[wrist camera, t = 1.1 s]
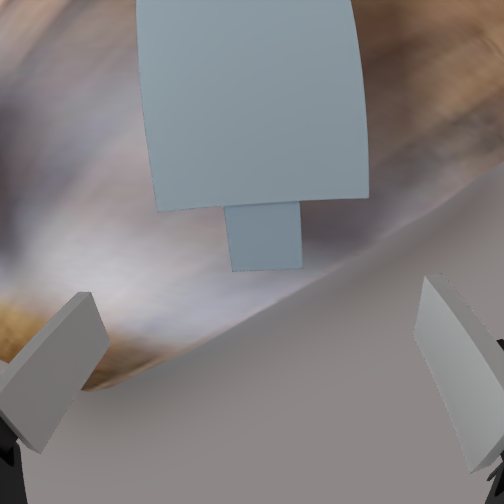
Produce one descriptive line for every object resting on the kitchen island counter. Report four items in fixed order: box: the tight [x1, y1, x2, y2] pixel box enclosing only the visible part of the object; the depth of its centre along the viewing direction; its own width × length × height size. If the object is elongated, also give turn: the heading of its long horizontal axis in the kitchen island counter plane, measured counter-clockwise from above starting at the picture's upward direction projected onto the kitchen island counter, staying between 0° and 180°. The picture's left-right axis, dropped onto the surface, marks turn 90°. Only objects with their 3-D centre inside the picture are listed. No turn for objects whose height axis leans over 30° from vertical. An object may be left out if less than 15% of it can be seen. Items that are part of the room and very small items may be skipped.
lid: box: [136, 0, 369, 272], centre depth 18 cm, size 14×26×4 cm, turn 5°
